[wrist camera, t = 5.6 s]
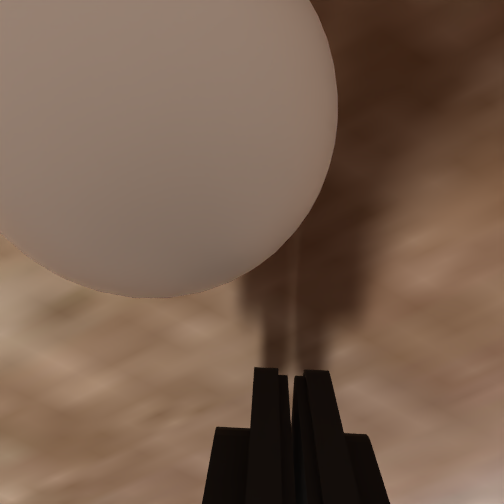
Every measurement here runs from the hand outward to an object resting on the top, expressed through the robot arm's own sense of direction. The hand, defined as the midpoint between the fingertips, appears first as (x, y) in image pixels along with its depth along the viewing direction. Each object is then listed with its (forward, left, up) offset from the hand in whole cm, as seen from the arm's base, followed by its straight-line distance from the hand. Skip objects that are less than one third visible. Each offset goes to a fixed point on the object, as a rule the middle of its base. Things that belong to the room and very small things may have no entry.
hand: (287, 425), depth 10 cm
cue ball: (+6, -3, +1) cm, 7 cm away
